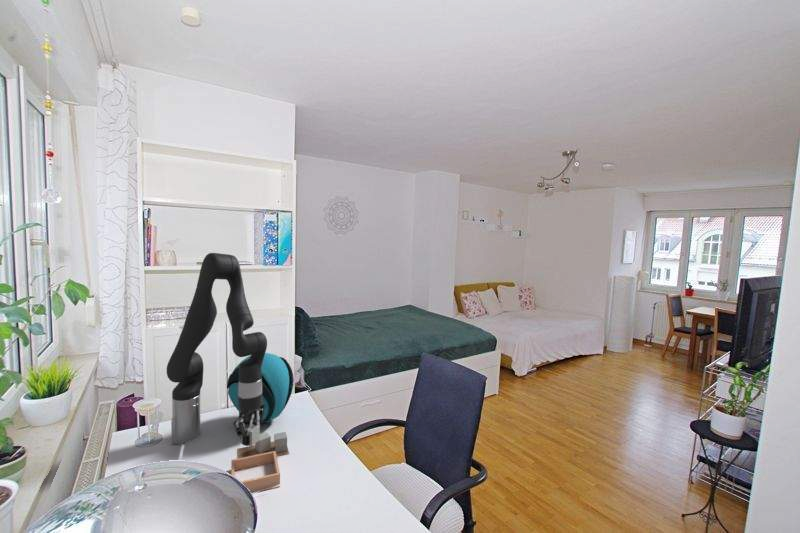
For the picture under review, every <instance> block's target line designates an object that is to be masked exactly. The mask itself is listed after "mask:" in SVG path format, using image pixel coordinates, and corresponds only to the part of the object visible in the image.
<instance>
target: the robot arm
mask: <svg viewBox="0 0 800 533" xmlns="http://www.w3.org/2000/svg"><path fill="white" fill-rule="evenodd" d="M242 276H243V275H242V271H241V265H240V262H239V260H238V258H237V257H236V256H235V255H232V254H228V253H220V252H219V253H218V252H209V253H208V254H206V255H205V256H204V258H203V260H202V264H201V266H200V271H199V274H198V279H197V283H196V288H195V292H194V294H193V297H192V299H191V300H192V301H191V302H190V303H191V304H190V306H189V309H188V311H187V314H186V317H185V319H184V320H185V321H184V324H183V327H182V330H181V332H180V336H179V338H178V341H177V343H176V345H175V348H174V350H173V352H172V353H171V356H170V358H169V360H168V362H167V366H166V375H167V376H166V377H167V378H168V379H169V381H171V382H172V383H176V385H175V387H174V388H173V390H172V392H171V402H172V403H171V404H172V405H171V407H172V408H171V410H172V411H171V415H172V417H171V445H186V442H190V441H193V440H195V439H196V438H198V437H199V436H201V390H202V389H201V388H202V387H203V380H204V361H203V358H202V356H201V355H200V354H199V353H198V352H196V350H197V349H198V348H199V346H200V345H202V342H203V341H204V340H205V339H206V338H207V336H208V335H209V333H210V332H211V330H212V328H213V326H214V323H215V320H216V319H217V318H216V317H217V314H218V310H217V305H216V302H215V300H214V296H213V293H212V290H213V286H214V282H215V281H216V280H226V281H227V283H228V285H229V294H228V297H227V300H226V306H225V311H226V314H227V318H228V321H229V323H230V326H231V336H232V340H231V342H232V343H231V346H232V347H231V348H232V352H233V353H234V355H235V356H236V357H238V358H244V357H245V358H246V357H248V356H250V355H251V357H250V358H249V359H248V360H246V361H244V362H242V363H241V364H240V365H239V383H238V408H239V409H240V410H241V414H240V419H239V418H238V420H235V421H234V422H233V426H234V429H235V433H236V435H237V436H238V437H241V445H242V444H243V446H245V447H248V445H249V444H250V434H249V433H250V428H251V427H252V425H258V426H260V425H261V424H263V423H262V421H263V417H264V411H265V404H262V370H261V367H262V363H263V359H264V355H265V353H267V352H266V351H267V348H268V340H267V337H266V334H264V333H263V332H261V331H256V332H251V333H244V331H245V332H246V331H248V330H249V329H251V328H252V327H253V326H254V318H253V315H252V313H251V309H250V307H249V305H248V302H247V298H246V295H245V294H246V293H245V288H244V282H243V277H242ZM177 383H178V384H177ZM259 415H261V416H260V417H259ZM260 422H261V424H260ZM245 423H246V424H245ZM247 424H249V425H247ZM245 428H247V431H245Z"/></svg>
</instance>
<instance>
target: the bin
mask: <svg viewBox="0 0 800 533" xmlns="http://www.w3.org/2000/svg"><path fill="white" fill-rule="evenodd" d="M230 462H231V468H230V470H231V472H230V473H231V474H230V475H233V476H234V477H235V471H238V470H241V469H245V468H251V467H255V466H259V465H264V464H269V463H273V469H274V473H271V474H267V475H262V476H259V477H255V478H250V479H246V480H243V481H242V480H241V481H240V482H242V483H243V484H244V485H245V486H246V487H247V488H248V489H249V490H250V491H249V492H252V491H257V490H260V491H259V492H257V493H262V492H267V491H271V490H275V489H278V488H280V487H281V486H280V483H281V472H280V467H279V463H278V462H279V461H278V457H277V456H276V451H272V452H267V453H263V454H258V455H253V456H248V457H243V458H239V459H238V458H235V459H234V458H233V459H231V461H230ZM272 486H273V487H272ZM274 486H275V487H274ZM268 487H269V488H268ZM270 487H271V488H270ZM265 488H267V489H265ZM261 489H263V490H261Z"/></svg>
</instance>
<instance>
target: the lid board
mask: <svg viewBox="0 0 800 533" xmlns="http://www.w3.org/2000/svg"><path fill="white" fill-rule="evenodd" d="M236 450H237V451H236V452H237V459H239V458H243V457H248V456H253V455H258V454H263V453H267V452H272V451H275V448H274V440H273V441H271V448H270V450H268V451H265V452H263V453H259V452H258V451H257V450H256V449H255V444H254V445H253V446H245V447H238V448H236ZM287 455H290V451H289V448H288V446H287V450H286V451H282V452H277V453H276V456H277V458H278V457H283V456H287Z"/></svg>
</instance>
